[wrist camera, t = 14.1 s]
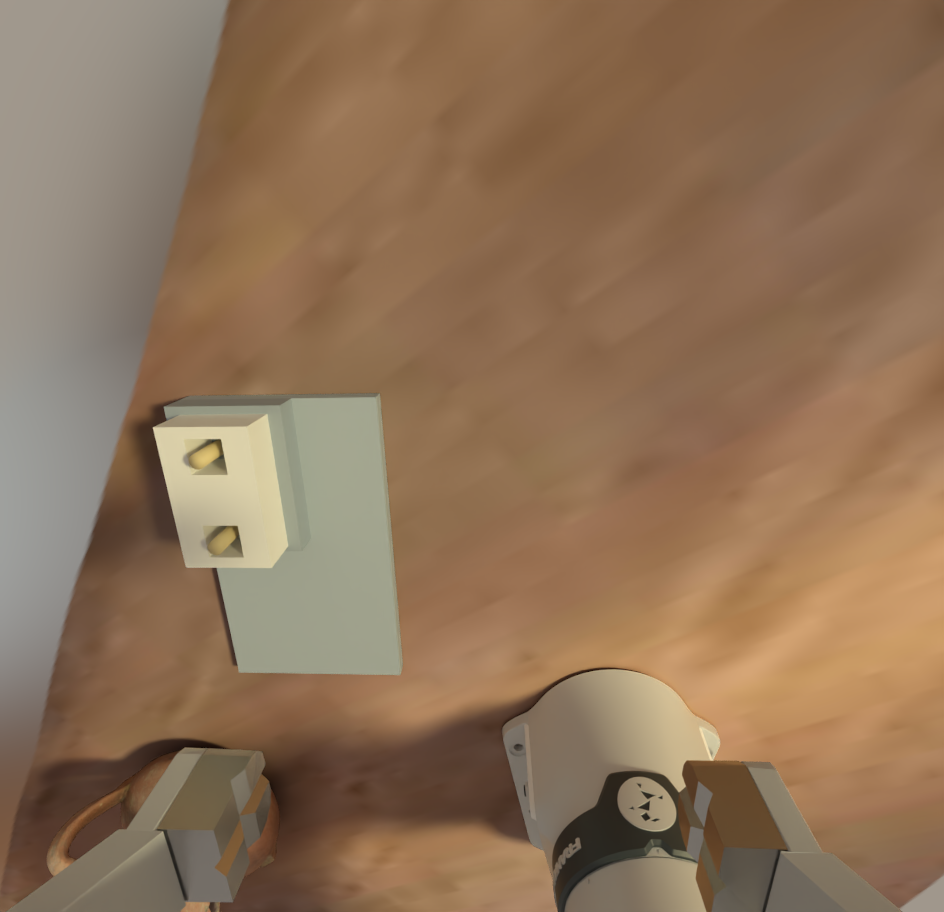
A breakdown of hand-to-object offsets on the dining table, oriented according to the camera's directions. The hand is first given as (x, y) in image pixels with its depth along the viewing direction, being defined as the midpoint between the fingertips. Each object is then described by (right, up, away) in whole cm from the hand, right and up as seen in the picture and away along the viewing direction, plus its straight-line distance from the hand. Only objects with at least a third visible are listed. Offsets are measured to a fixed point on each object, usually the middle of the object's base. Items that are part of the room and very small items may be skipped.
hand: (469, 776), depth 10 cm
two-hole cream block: (-17, +4, +27) cm, 32 cm away
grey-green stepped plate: (-13, -1, +32) cm, 34 cm away
